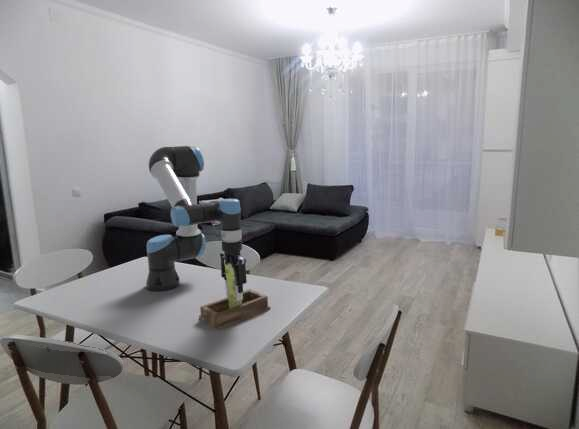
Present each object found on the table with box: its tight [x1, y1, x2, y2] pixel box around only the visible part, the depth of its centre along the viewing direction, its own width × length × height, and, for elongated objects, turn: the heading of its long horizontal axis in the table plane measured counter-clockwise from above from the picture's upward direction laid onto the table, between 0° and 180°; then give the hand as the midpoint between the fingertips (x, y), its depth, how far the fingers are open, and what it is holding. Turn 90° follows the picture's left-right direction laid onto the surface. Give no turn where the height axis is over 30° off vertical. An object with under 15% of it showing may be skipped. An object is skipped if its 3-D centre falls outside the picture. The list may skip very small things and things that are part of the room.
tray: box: [198, 289, 271, 331], centre depth 153 cm, size 14×24×5 cm, turn 134°
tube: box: [224, 260, 242, 309], centre depth 151 cm, size 6×5×20 cm
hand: (234, 297), depth 152 cm, fingers closed on tube, 6 cm apart
